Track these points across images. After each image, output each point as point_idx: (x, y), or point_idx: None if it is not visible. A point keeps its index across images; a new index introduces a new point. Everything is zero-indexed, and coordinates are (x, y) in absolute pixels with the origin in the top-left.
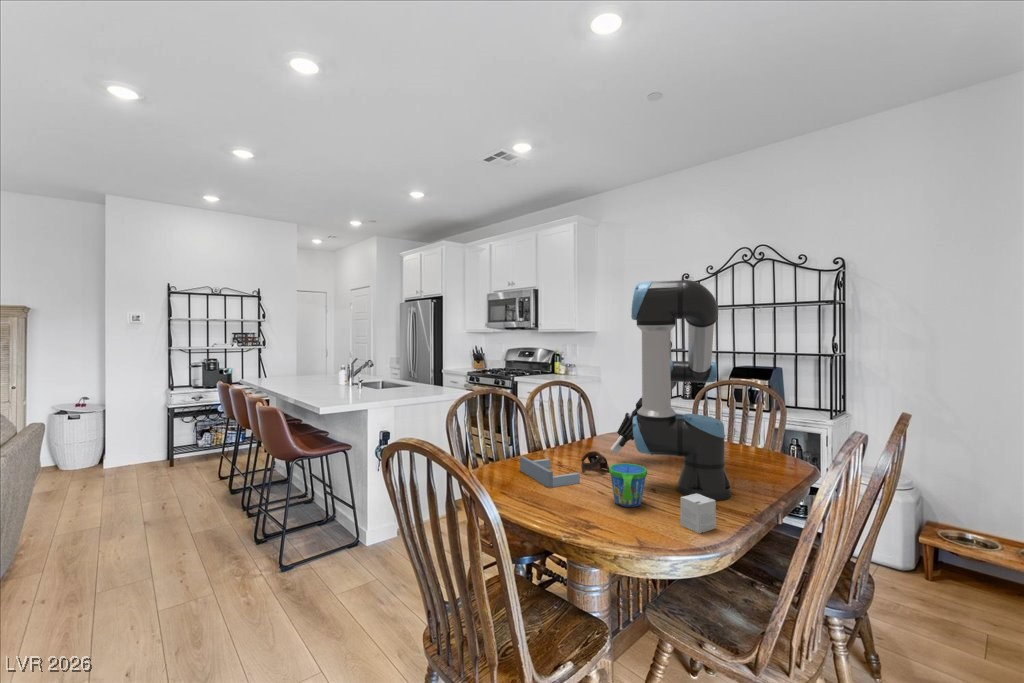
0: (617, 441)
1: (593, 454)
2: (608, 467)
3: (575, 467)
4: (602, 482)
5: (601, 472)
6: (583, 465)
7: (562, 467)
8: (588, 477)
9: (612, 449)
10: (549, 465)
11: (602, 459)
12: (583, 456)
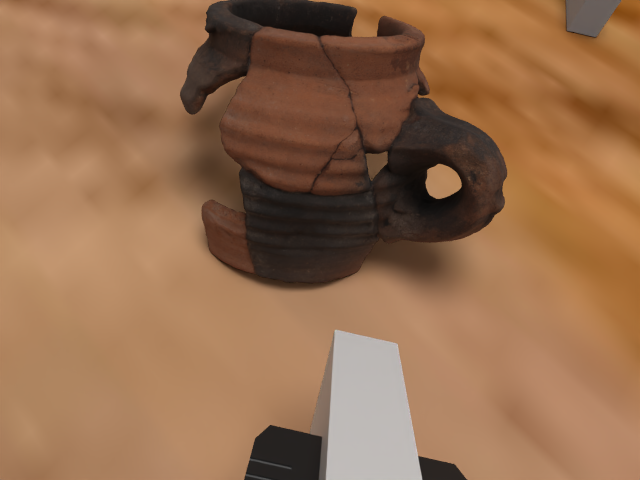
0: (362, 425)
1: (372, 89)
2: (203, 204)
3: None
4: (72, 26)
5: None
6: (336, 35)
7: (542, 89)
8: None
9: (340, 333)
10: (575, 9)
11: (204, 65)
12: (403, 23)
